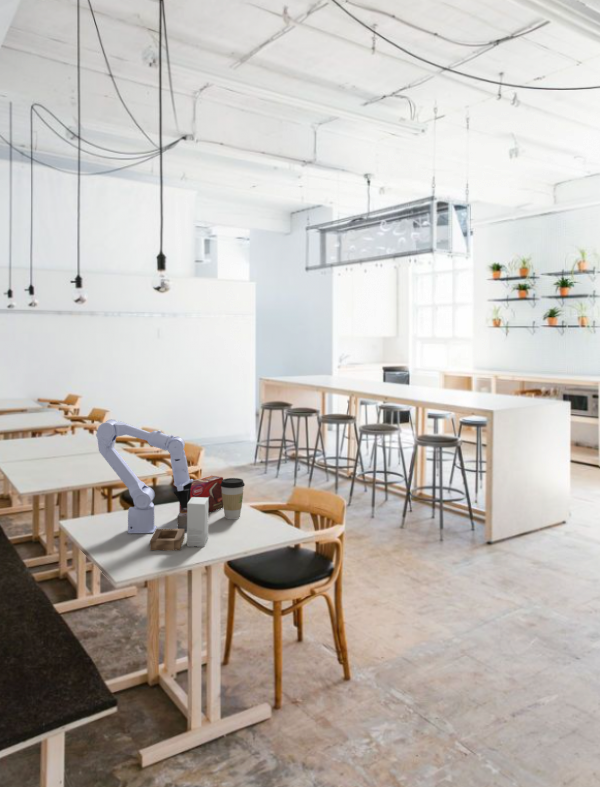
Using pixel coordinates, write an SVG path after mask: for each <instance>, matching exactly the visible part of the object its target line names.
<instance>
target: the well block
mask: <svg viewBox="0 0 600 787" xmlns="http://www.w3.org/2000/svg"><path fill="white" fill-rule="evenodd" d="M185 533H186V532H185V529H178V528H156V529H155V531H154V533H152V537H151V538H150V540H149V543H150V544H149V549H150V550H164V551H181V549H182V545H183V543H184V540H185V539H186V538H185V537H186V536H185V535H186V534H185Z"/></svg>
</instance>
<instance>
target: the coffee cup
mask: <svg viewBox="0 0 600 787" xmlns="http://www.w3.org/2000/svg"><path fill="white" fill-rule="evenodd" d="M245 485H246V484H245V482H244V479H242V478H238V477H230V478H223V480H222V482H221V484H220V486H221V488H222V500H223V508H222V509H223V513H224V514H223V515H224V518H225V519H228V520H236V519H239V517H240V518H241V512H242V506H243V497H244V487H245Z"/></svg>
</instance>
